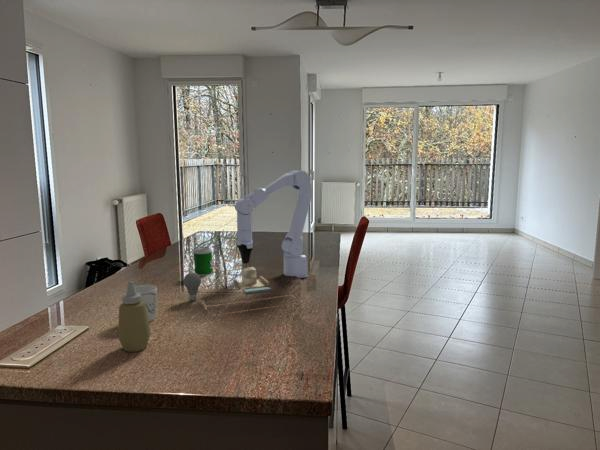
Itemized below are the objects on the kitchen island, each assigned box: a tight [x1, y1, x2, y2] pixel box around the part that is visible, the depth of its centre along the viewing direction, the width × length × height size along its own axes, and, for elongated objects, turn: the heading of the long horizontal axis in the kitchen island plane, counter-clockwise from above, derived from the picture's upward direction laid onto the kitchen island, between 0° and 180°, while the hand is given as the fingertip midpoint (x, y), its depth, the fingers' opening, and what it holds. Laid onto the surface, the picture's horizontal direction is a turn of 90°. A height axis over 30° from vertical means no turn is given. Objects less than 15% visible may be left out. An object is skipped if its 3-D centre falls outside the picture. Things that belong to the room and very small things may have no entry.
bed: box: [232, 275, 270, 290], centre depth 171 cm, size 12×10×2 cm
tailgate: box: [243, 286, 273, 295], centre depth 163 cm, size 9×1×6 cm
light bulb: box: [182, 271, 202, 302], centre depth 155 cm, size 6×6×10 cm
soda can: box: [193, 246, 214, 277], centre depth 187 cm, size 8×8×12 cm
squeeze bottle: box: [117, 281, 151, 353], centre depth 116 cm, size 8×8×18 cm
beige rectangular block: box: [241, 266, 258, 285], centre depth 172 cm, size 4×4×6 cm
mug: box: [134, 284, 158, 323], centre depth 136 cm, size 11×8×10 cm
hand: (245, 263), depth 176 cm, fingers closed
